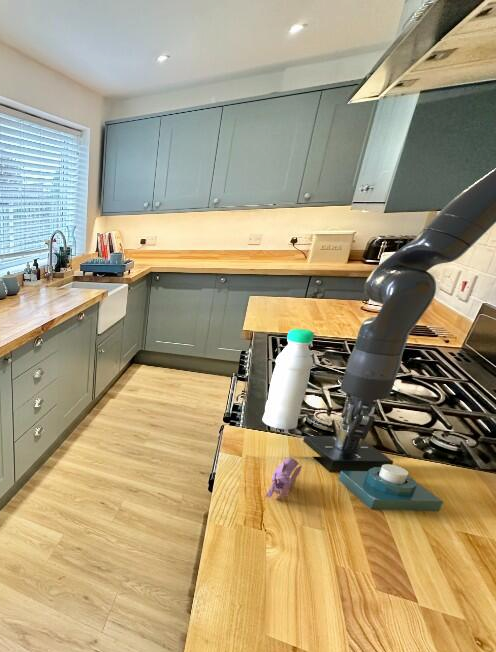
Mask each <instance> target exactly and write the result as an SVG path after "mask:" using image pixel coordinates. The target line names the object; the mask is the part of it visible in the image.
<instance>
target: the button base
mask: <svg viewBox="0 0 496 652" xmlns="http://www.w3.org/2000/svg"><path fill="white" fill-rule="evenodd" d="M380 470H381V467H374V468H371V469H369V470H368V471H341V472H340V473H339V476H338V478H337V481H339V482H340V483H341V484H342V485H343V486H344V487H345V488H347V490H349V492H351V493H352V494H353V495H354V496H355V497H356V498H358V499H359V501H361V502H362V503H363V504H364V505H365V506H367V508H369V510H381V511H382V510H384V511H418V512H440V510H441V508H442V506H443V504H444V500H442V499H441V498H439V497H438V496H437V495H435V494H434V493H433V492H431V491H430V490H428V489H427V488H426V487H424V486H423V485H421V484H420V483H419V482H417V480H416V479H414V478H413V477H412V476H411V475H409V474H408V476H407V479H406V481H405V483H404V484H396V483H392V482H388V481H386V480H384V479H382V478H380V477H379V473H380Z"/></svg>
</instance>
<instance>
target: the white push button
mask: <svg viewBox="0 0 496 652" xmlns="http://www.w3.org/2000/svg"><path fill="white" fill-rule="evenodd" d="M408 475H409V471H408V470H407V469H405V468H403V467H401V466H399V465H396V464H392V465H390V464H385V465H382V467H381V470H380V473H379V477H380V478H382V479H384V480H386V481H388V482H392V483H396V484H404V483H405V481H406V479H407V476H408Z"/></svg>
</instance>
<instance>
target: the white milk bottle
mask: <svg viewBox="0 0 496 652" xmlns="http://www.w3.org/2000/svg"><path fill="white" fill-rule="evenodd" d="M314 338H315V333H314V332H313V331H311V330H309V329H303V328H293V329H290V330H289V331H288V332H287V335H286V340H287V341H286V342H287V345H286V346H285V347H283V350H282V351H281V352H280V353H278V355H277V356H276V358H275V366H274V368H273V372H272V377H271V380H270V384H269V388H268V389H269V390H268V398H267V401H266V402H265V407H264V413H263V416H262V422H263V423H264V424H265V425H267V426H269V427H271V428H275V429H277V430H294V429H296V428H298V423H299V422H298V421H299V417H300V415H301V411H302V404H303V402H304V398H305V395H306V393H307V389H308V384H309V380H310V375H311V369H313V366H314V359H313V355H312V353H311V350H310V347H309V346H310V345H311V344H312V342H313V341H314Z"/></svg>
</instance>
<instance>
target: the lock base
mask: <svg viewBox="0 0 496 652" xmlns="http://www.w3.org/2000/svg"><path fill="white" fill-rule="evenodd" d="M336 438H337V435H335V436H334V435H304V437H303V440H302V442H303V443H304V444H306V446H308V447H309V448H310V449H311V450H312V451H313V452H315V453H316V454H317V456H312V458H313V459H314V460H315V461H316V462H317V463H319V464H320V465H321V467H323V468H324V469H325V470H326V471H327V472H329V473H333V474H335V473H336V474H338V473H339V474H340V472H341V471H368V470H369V469H371V468H374V467H382V465H385V464H390V465H394V460H392V459H391V458H389V457H388V456H387V455H385V454H384V453H383V452H381V451H380V450H378V449H376V448H375V447H374V446H372V445H371V444H370V443H368V442H367V441H365V439H363V440H362V443H361V446H360V449H359V451H358V452H355V453H349V452H344V451H342V450H340V449H338V448H336V447H335V442H336Z"/></svg>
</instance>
